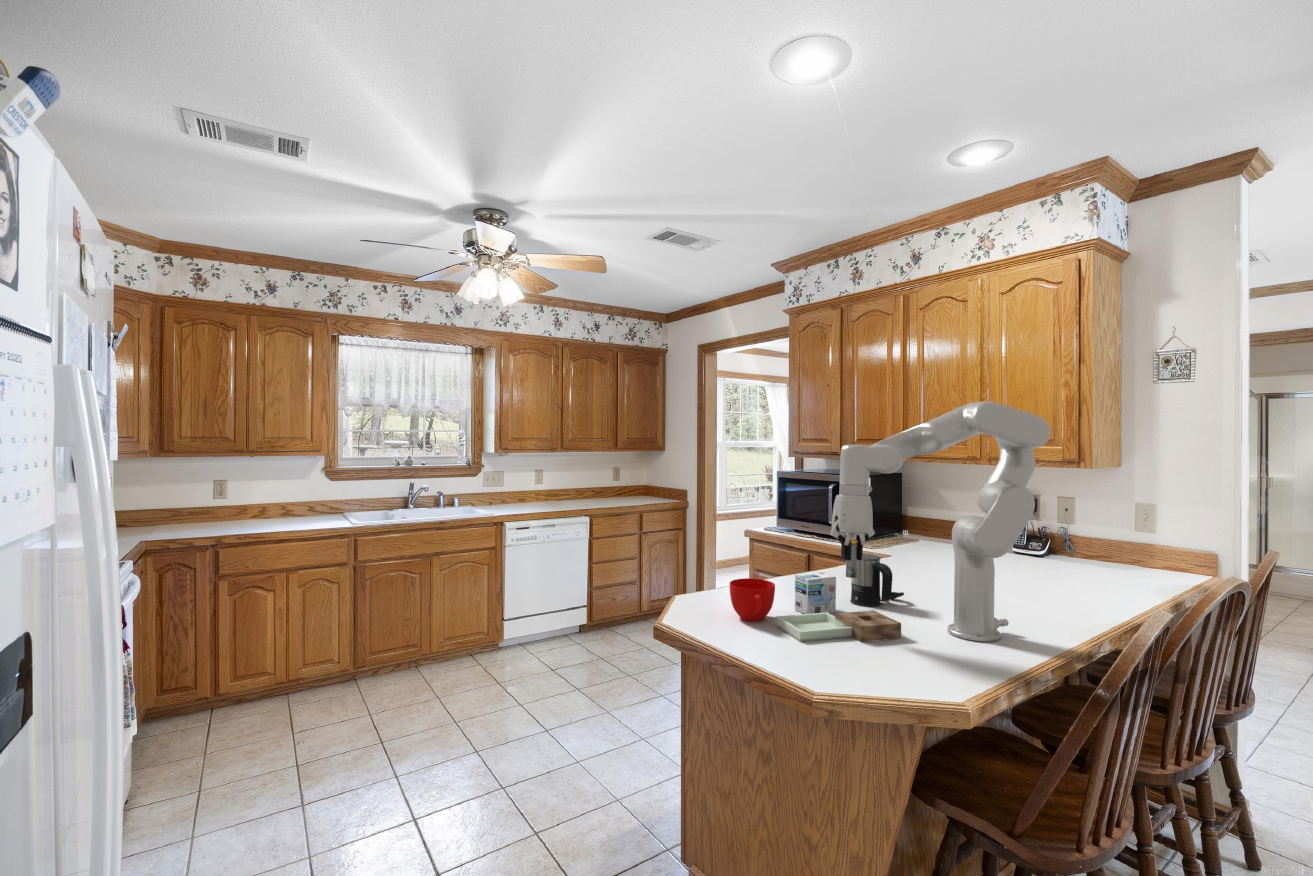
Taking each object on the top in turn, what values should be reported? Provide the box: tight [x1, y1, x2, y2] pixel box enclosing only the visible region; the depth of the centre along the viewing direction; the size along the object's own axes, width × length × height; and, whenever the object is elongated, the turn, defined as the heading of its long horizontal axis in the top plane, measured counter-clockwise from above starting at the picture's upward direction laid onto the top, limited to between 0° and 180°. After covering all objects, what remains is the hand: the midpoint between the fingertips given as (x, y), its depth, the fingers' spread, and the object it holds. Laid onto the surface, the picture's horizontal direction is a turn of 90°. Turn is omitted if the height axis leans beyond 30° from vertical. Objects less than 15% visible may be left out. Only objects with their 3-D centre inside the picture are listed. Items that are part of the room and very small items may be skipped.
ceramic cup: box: [729, 577, 776, 622], centre depth 176 cm, size 13×17×10 cm
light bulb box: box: [794, 571, 837, 614], centre depth 186 cm, size 11×7×11 cm, turn 114°
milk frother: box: [850, 553, 905, 607], centre depth 196 cm, size 14×16×15 cm
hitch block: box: [834, 609, 902, 642], centre depth 165 cm, size 12×12×4 cm
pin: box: [845, 538, 858, 579], centre depth 166 cm, size 3×3×10 cm
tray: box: [774, 612, 852, 643], centre depth 167 cm, size 16×14×2 cm
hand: (851, 558), depth 166 cm, fingers closed on pin, 2 cm apart
